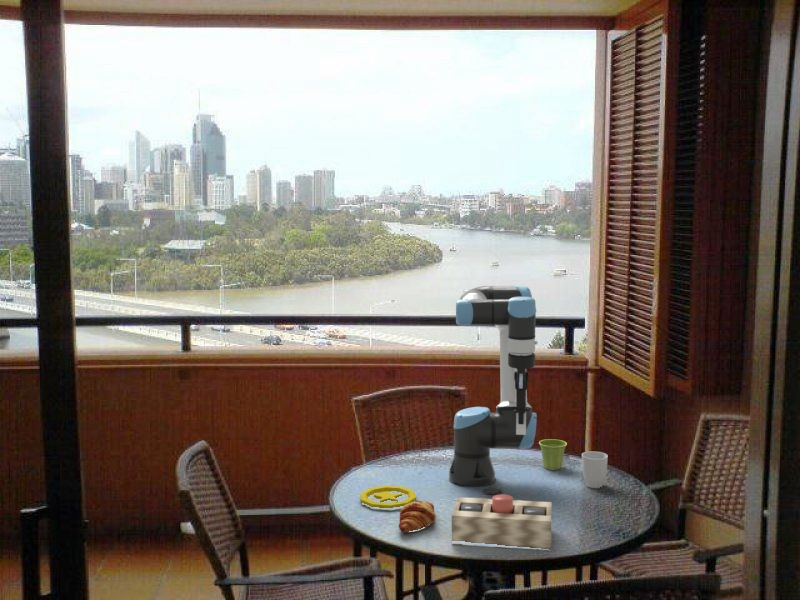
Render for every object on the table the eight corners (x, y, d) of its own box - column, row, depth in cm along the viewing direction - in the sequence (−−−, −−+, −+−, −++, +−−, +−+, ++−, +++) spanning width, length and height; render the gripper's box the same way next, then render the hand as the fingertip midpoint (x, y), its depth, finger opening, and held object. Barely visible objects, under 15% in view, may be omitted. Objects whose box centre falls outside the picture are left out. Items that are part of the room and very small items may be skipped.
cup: (605, 481, 266) (605, 451, 265) (609, 490, 258) (609, 459, 257) (579, 481, 267) (580, 451, 266) (582, 489, 259) (583, 458, 258)
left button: (460, 528, 222) (459, 510, 221) (462, 520, 227) (462, 502, 227) (480, 529, 221) (480, 511, 220) (482, 521, 226) (482, 504, 226)
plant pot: (538, 462, 286) (538, 438, 285) (565, 463, 285) (566, 439, 284) (539, 471, 277) (539, 446, 276) (567, 472, 276) (567, 447, 275)
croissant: (422, 521, 244) (410, 496, 245) (450, 509, 240) (438, 484, 241) (394, 547, 225) (381, 520, 226) (424, 535, 221) (411, 507, 222)
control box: (451, 544, 218) (451, 515, 217) (457, 524, 232) (457, 497, 231) (550, 551, 214) (551, 521, 213) (551, 530, 227) (551, 502, 226)
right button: (523, 531, 219) (523, 513, 218) (524, 524, 224) (524, 506, 223) (544, 533, 218) (544, 515, 217) (544, 525, 223) (544, 507, 222)
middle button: (491, 519, 220) (491, 501, 219) (493, 511, 225) (493, 494, 225) (512, 520, 219) (512, 502, 218) (513, 512, 224) (513, 495, 224)
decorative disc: (410, 513, 242) (410, 506, 242) (353, 509, 246) (352, 502, 246) (421, 493, 258) (421, 487, 258) (367, 490, 262) (367, 484, 262)
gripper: (534, 358, 222) (534, 441, 226) (535, 347, 235) (534, 427, 238) (506, 357, 223) (506, 440, 227) (509, 347, 236) (508, 426, 240)
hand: (521, 433), depth 233 cm, fingers closed
